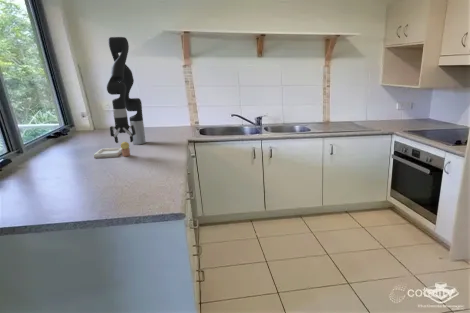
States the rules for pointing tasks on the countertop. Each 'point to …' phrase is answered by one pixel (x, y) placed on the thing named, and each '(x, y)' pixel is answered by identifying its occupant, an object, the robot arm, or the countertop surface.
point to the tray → (108, 153)
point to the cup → (125, 152)
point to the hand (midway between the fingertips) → (124, 142)
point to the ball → (124, 145)
